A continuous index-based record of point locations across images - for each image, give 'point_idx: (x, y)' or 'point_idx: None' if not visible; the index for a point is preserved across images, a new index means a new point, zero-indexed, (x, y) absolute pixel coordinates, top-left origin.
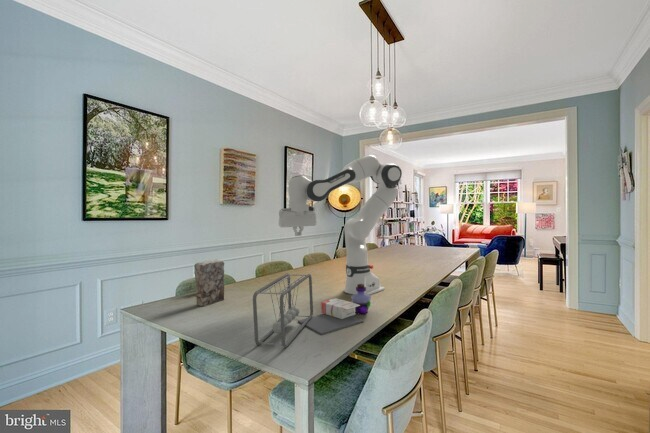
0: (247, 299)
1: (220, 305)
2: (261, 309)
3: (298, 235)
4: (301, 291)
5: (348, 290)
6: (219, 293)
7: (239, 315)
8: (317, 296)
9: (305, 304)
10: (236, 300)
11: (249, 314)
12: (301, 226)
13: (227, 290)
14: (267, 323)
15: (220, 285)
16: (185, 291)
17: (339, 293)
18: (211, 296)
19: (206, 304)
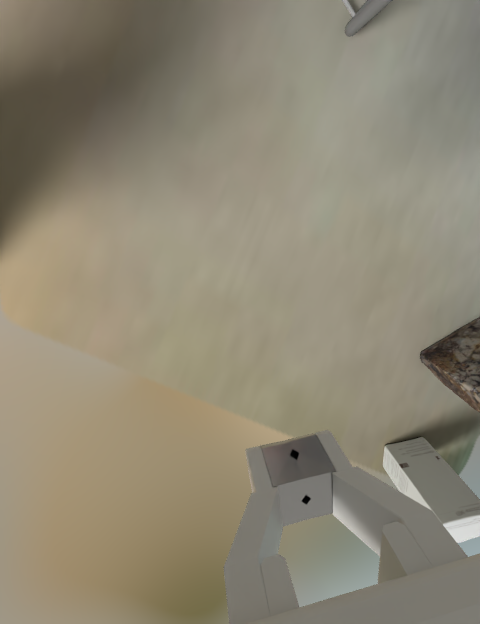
0: (367, 325)
1: (449, 302)
2: (379, 194)
3: (297, 437)
4: (174, 335)
5: None
6: (452, 355)
7: (454, 171)
8: (140, 239)
9: (228, 159)
10: (396, 330)
11: (429, 163)
12: (291, 618)
13: (374, 440)
14: (430, 21)
15: (470, 369)
16: (457, 467)
17: (26, 231)
18: (478, 338)
19: (476, 322)
